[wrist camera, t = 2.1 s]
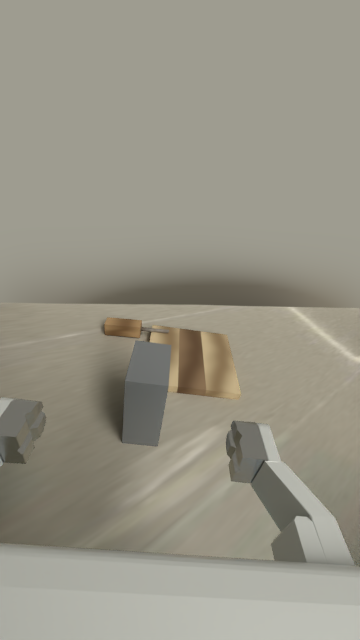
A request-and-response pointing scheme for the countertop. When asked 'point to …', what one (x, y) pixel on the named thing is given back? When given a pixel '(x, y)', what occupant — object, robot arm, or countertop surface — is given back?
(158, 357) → the block
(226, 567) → the robot arm
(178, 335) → the plywood board
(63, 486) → the countertop surface
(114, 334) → the awl
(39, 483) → the countertop surface
